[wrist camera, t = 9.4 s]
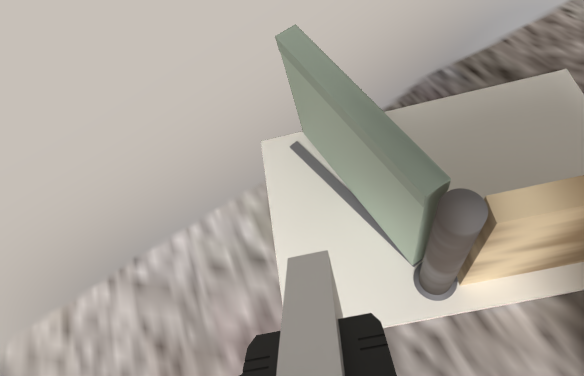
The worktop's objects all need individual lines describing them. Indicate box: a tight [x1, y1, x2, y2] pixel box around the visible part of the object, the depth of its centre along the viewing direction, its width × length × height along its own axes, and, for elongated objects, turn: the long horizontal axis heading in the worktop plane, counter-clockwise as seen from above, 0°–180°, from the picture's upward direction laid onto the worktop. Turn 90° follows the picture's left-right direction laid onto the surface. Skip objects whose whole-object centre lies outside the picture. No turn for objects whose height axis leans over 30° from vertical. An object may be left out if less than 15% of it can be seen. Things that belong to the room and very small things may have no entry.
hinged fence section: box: [275, 25, 451, 265], centre depth 23 cm, size 12×1×9 cm, turn 33°
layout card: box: [261, 69, 584, 328], centre depth 27 cm, size 22×14×1 cm, turn 99°
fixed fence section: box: [419, 175, 584, 295], centre depth 20 cm, size 14×2×10 cm, turn 99°
